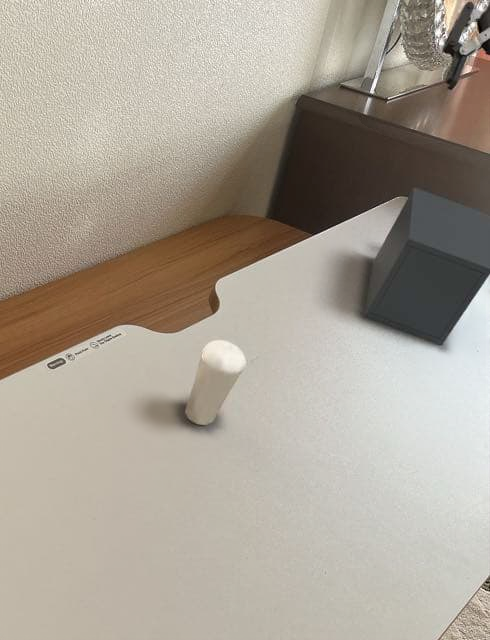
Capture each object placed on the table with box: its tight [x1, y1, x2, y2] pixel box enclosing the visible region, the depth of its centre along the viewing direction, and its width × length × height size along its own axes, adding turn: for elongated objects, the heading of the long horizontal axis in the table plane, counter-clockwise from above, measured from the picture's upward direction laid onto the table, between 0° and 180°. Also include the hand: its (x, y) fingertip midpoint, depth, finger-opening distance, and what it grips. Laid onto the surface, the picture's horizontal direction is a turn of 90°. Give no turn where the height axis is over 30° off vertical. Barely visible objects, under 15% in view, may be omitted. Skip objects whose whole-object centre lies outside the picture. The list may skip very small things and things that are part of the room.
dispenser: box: [364, 186, 490, 346], centre depth 114 cm, size 14×11×12 cm
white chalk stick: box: [184, 339, 259, 426], centre depth 91 cm, size 4×5×10 cm
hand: (481, 98), depth 120 cm, fingers open, 8 cm apart
